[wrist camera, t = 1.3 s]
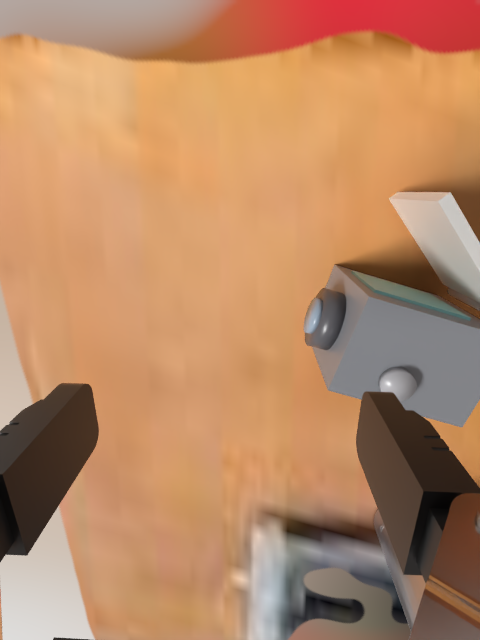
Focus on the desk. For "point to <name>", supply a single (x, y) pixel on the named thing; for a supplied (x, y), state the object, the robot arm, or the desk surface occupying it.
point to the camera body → (396, 344)
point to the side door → (443, 238)
